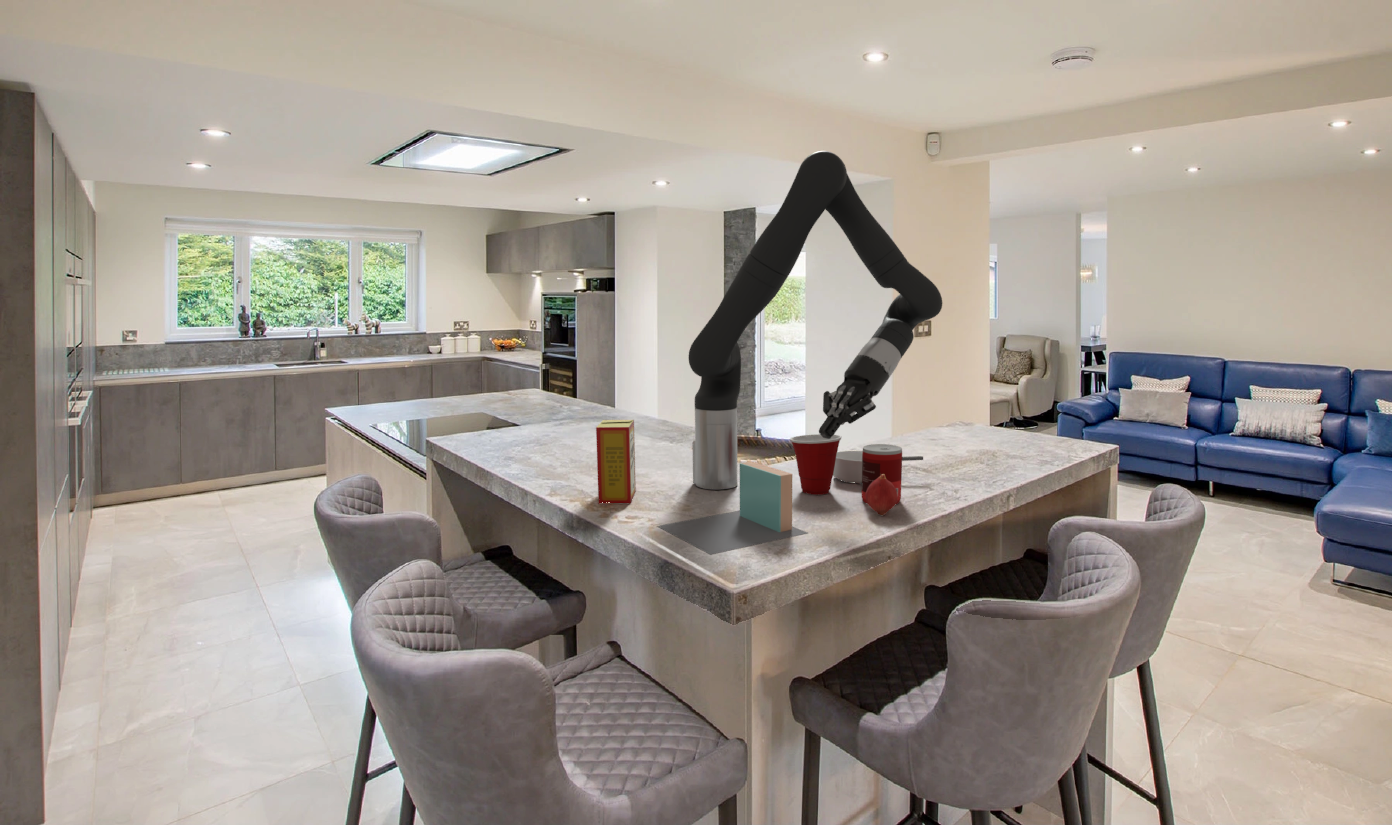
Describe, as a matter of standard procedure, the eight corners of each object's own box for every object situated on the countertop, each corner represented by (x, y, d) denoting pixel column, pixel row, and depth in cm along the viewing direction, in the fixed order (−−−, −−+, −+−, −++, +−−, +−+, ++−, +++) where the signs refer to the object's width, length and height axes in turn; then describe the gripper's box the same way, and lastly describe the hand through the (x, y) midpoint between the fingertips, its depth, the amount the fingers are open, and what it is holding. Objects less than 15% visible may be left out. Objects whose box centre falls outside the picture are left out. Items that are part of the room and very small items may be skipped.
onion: (858, 514, 141) (859, 473, 140) (877, 509, 145) (878, 468, 144) (884, 521, 137) (885, 478, 136) (903, 515, 140) (904, 473, 139)
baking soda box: (630, 503, 151) (628, 425, 149) (598, 503, 151) (596, 425, 149) (635, 491, 160) (633, 417, 158) (605, 491, 160) (603, 418, 158)
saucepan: (926, 487, 161) (926, 462, 160) (831, 485, 164) (832, 460, 163) (918, 475, 172) (919, 451, 172) (830, 473, 176) (830, 449, 175)
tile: (739, 515, 140) (739, 463, 138) (752, 513, 141) (751, 461, 140) (779, 532, 130) (779, 476, 128) (792, 529, 131) (792, 473, 130)
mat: (656, 528, 134) (656, 525, 134) (748, 511, 144) (748, 508, 144) (710, 557, 119) (710, 554, 119) (808, 535, 129) (808, 532, 129)
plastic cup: (811, 482, 166) (812, 429, 164) (851, 491, 158) (852, 435, 156) (778, 491, 159) (778, 435, 157) (818, 501, 151) (819, 442, 149)
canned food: (903, 498, 152) (905, 445, 151) (896, 508, 145) (898, 452, 144) (866, 494, 156) (867, 442, 154) (857, 504, 148) (858, 449, 147)
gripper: (839, 351, 149) (790, 418, 144) (888, 355, 137) (837, 428, 133) (858, 376, 152) (811, 442, 148) (908, 382, 141) (858, 453, 136)
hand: (823, 435), depth 140 cm, fingers closed
